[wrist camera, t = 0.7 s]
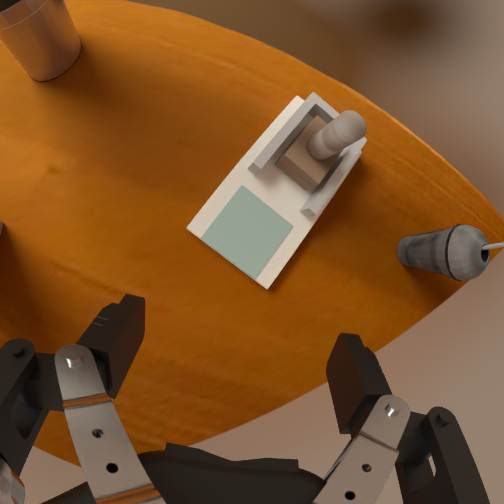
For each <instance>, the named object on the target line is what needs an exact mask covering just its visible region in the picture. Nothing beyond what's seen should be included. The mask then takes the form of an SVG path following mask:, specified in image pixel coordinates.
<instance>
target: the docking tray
mask: <svg viewBox="0 0 504 504" xmlns="http://www.w3.org/2000/svg"><path fill="white" fill-rule="evenodd" d="M317 115H318V116H319V117H320V118H321V119H322V120H324V121H325V122H326V123H327V124H329V123H330V122H331V121H332V120H334V119H335V118H336V117H337V116H339V115H340V114H339V113H338V112H336V111H335V110H334V109H333V108H332V107H331V106H330V105H328V104H327V103H326V102H325V101H324V100H322V99H321V98H320V97H319V96H318V95H316V94H315V93H314V92H312V94H311V95H310V96H309V97H308V98H307V99H306V100H305V101H304V100H303V99H301V98H300V97H299V96H298V95H297V96H296V97H295V98H294V99H293V100H292V101H291V102H290V104H289V105H288V106H287V107H286V108H285V109H284V110H283V111H282V112H281V114H280V115H279V116H278V117H277V118H276V119H275V120H274V121H273V123H272V124H271V125H270V126H269V127H268V128H267V129H266V131H265V132H264V133H263V134H262V135H261V136H260V138H259V139H258V140H257V141H256V142H255V143H254V145H253V146H252V147H251V148H250V149H249V150H248V152H247V153H246V154H245V155H244V156H243V158H242V159H241V160H240V161H239V162H238V164H237V165H236V166H235V167H234V168H233V170H232V171H231V172H230V173H229V175H228V176H227V177H226V178H225V180H224V181H223V182H222V183H221V184H220V186H219V187H218V188H217V189H216V191H215V192H214V193H213V194H212V196H211V197H210V198H209V200H208V201H207V202H206V203H205V205H204V206H203V207H202V208H201V210H200V211H199V212H198V214H197V215H196V216H195V217H194V219H193V220H192V221H191V223H190V224H189V225H188V227H187V228H186V229H187V230H189V231H190V232H191V233H193V234H194V235H195V236H196V237H198V238H199V239H200V240H202V241H203V242H204V243H206V244H207V245H208V246H210V247H211V248H212V249H214V250H215V251H216V252H217V253H219V254H220V255H221V256H223V257H224V258H225V259H227V260H228V261H229V262H231V263H232V264H233V265H235V266H236V267H237V268H239V269H240V270H241V271H243V272H244V273H245V274H247V275H248V276H249V277H251V278H252V279H253V280H255V281H256V282H257V283H259V284H260V285H261V286H263V287H264V288H266V289H268V288H269V287H270V285H271V284H272V283H273V281H274V280H275V278H276V277H277V276H278V274H279V273H280V271H281V270H282V269H283V267H284V266H285V264H286V263H287V262H288V260H289V259H290V257H291V256H292V255H293V253H294V252H295V250H296V249H297V248H298V246H299V245H300V243H301V242H302V240H303V239H304V238H305V236H306V235H307V233H308V232H309V230H310V229H311V228H312V226H313V225H314V223H315V222H316V220H317V219H318V217H319V216H320V215H321V213H322V212H323V210H324V209H325V207H326V206H327V204H328V203H329V201H330V200H331V199H332V197H333V196H334V194H335V193H336V191H337V190H338V188H339V187H340V185H341V184H342V182H343V181H344V179H345V178H346V176H347V175H348V173H349V172H350V170H351V169H352V167H353V166H354V164H355V163H356V161H357V160H358V158H359V157H360V155H361V154H362V151H361V149H362V147H363V146H364V144H365V142H366V141H367V139H366V138H365V137H363V138H362V139H360V140H358V141H356V142H355V143H353V144H351V145H349V146H348V147H346V148H344V150H343V151H342V153H341V154H340V155H339V157H338V158H337V160H336V161H335V162H334V164H333V165H332V167H331V168H330V170H329V171H328V172H327V174H326V175H325V177H324V178H323V179H322V181H321V182H320V184H318V185H316V186H314V187H312V188H309V189H307V190H305V189H304V188H303V187H301V186H300V185H299V184H298V183H297V182H295V181H294V180H293V179H292V178H291V177H289V176H288V175H287V174H286V173H285V172H283V171H282V170H281V169H280V168H279V167H277V166H276V165H275V163H276V162H277V161H278V159H279V158H280V157H281V156H282V154H283V153H284V152H285V151H286V149H287V148H288V147H289V146H290V144H291V143H292V142H293V141H294V139H295V138H296V137H297V136H298V135H299V133H300V132H301V131H302V130H303V128H304V127H305V126H306V125H307V124H308V123H309V122H310V121H312V120H313V119H314V118H315V117H316V116H317Z"/></svg>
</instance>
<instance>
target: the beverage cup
mask: <svg viewBox="0 0 504 504" xmlns="http://www.w3.org/2000/svg"><path fill="white" fill-rule="evenodd" d="M501 247H504V242H503V243H497V244H491V245H489V243H488V241H487V239H486V237H485V236H484V234H483V233H482V232H481V231H480V230H478V229H477V228H475V227H473V226H470V225H465V224H457V225H456V226H452V227H449V228H447V229H445V230H439V231H434V232H428V233H422V234H417V235H411V236H408V237H404V238H402V239H401V241H400V242H399V244H398V248H397V256H398V259H399V261H400V262H401V263H402V264H403V265H405V266H409V267H412V268H416V269H421V270H425V271H430V272H434V273H438V274H443V275H445V276H447V277H450V278H453V279H455V280H457V281H464V280H470V279H473V278H476V277H478V276H479V275H480V274H481V273H482V272H483V271H484V270H485V268H486V267H487V265H488V262H489V259H490V249H494V248H501Z"/></svg>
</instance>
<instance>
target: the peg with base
mask: <svg viewBox="0 0 504 504" xmlns="http://www.w3.org/2000/svg"><path fill="white" fill-rule="evenodd" d="M365 134H366V124H365V121H364V120H363V118H362V117H361V116H360V115H359V114H358V113H356V112H354V111H350V110H347V111H344V112H343V113H341V114H340V115H339V116H337V117H336V118H335V119H334V120H332V121H331V122H330V123H329V124H327V123H326V122H325V121H324V120H322V119H321V118H320V117H319V116H318V115H317V116H316V117H315V118H314V119H313V120H312V121H310V122H309V123H308V124H307V125H306V126H305V127H304V128H303V130H302V131H301V132H300V133H299V135H298V136H297V137H296V138H295V139H294V141H293V142H292V143H291V144H290V146H289V147H288V148H287V149H286V151H285V152H284V153H283V154H282V156H281V157H280V158H279V159H278V161H277V162H276V163H275V165H276V166H277V167H279V168H280V169H281V170H282V171H283V172H285V173H286V174H287V175H288V176H289V177H291V178H292V179H293V180H294V181H295V182H297V183H298V184H299V185H300V186H301V187H303V188H304V189H305V190H307V189H309V188H312V187H314V186H316V185H318V184H320V182H321V181H322V179H323V178H324V177H325V175H326V174H327V172H328V171H329V170H330V168H331V167H332V165H333V164H334V162H335V161H336V160H337V158H338V157H339V155H340V154H341V153H342V151H343V150H344V148H346V147H348V146H349V145H351V144H353V143H355V142H356V141H358V140H360V139H362V138H363V137H364V136H365Z"/></svg>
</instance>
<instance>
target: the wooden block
mask: <svg viewBox="0 0 504 504" xmlns="http://www.w3.org/2000/svg"><path fill="white" fill-rule="evenodd" d="M2 229H3V223H2V222H1V221H0V236H1V232H2Z"/></svg>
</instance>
